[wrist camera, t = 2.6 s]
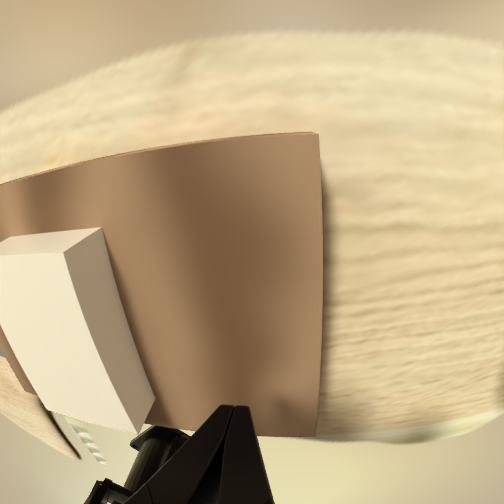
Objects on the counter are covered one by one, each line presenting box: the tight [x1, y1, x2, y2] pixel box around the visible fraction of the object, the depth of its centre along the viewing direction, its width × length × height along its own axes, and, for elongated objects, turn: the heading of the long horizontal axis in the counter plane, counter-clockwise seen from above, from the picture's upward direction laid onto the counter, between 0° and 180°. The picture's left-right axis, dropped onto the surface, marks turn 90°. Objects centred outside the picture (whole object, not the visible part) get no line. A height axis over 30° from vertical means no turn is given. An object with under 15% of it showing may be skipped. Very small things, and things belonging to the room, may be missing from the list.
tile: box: [0, 227, 155, 435], centre depth 12 cm, size 6×9×2 cm, turn 5°
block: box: [0, 132, 323, 437], centre depth 15 cm, size 20×14×4 cm
